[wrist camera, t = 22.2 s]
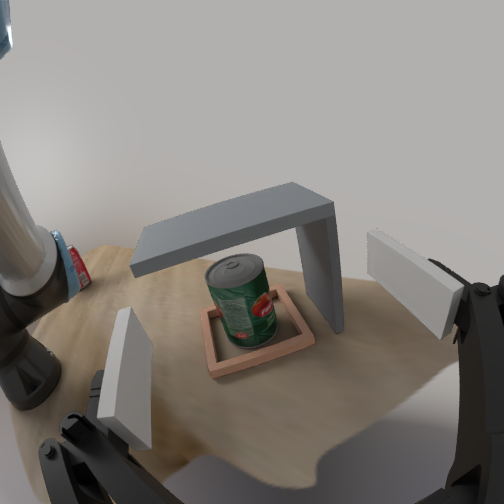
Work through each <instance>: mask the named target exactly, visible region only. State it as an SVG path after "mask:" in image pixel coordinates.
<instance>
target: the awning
mask: <svg viewBox="0 0 504 504" xmlns="http://www.w3.org/2000/svg"><path fill="white" fill-rule="evenodd" d="M294 227H295V228H296V233H297V239H298V244H299V251H300V257H301V263H302V268H303V275H304V281H305V288H306V294H307V295H308V296H309V298H310V299H311V300H312V302H313V303H314V304H315V306H316V307H317V308H318V310H319V311H320V312H321V314H322V315H323V316H324V318H325V319H326V320H327V322H328V323H329V325H330V326H331V327H332V329H333V330H334V331H335V333H336V334H337V333H340V332H342V331H344V316H343V295H342V280H341V267H340V255H339V244H338V235H337V225H336V218H335V209H334V202H333V201H331V200H329V199H327V198H325V197H323V196H321V195H319V194H317V193H315V192H313V191H311V190H309V189H307V188H304V187H302V186H300V185H298V184H296V183H294V182H290V183H287V184H283V185H279V186H276V187H272V188H268V189H264V190H261V191H257V192H254V193H250V194H247V195H244V196H240V197H236V198H233V199H230V200H227V201H223V202H220V203H216V204H213V205H210V206H207V207H204V208H200V209H197V210H194V211H191V212H188V213H185V214H182V215H179V216H176V217H173V218H170V219H167V220H164V221H161V222H158V223H155V224H152V225H149V226H146V227H144V228H143V231H142V234H141V236H140V238H139V241H138V244H137V246H136V249H135V251H134V254H133V257H132V259H131V262H130V265H129V266H130V268H131V270H132V272H133V274H134V277H135V278H137V277H140V276H143V275H146V274H149V273H152V272H155V271H159V270H162V269H165V268H168V267H171V266H174V265H177V264H180V263H183V262H186V261H189V260H193V259H196V258H199V257H202V256H205V255H208V254H211V253H214V252H218V251H221V250H224V249H227V248H230V247H233V246H236V245H240V244H243V243H246V242H249V241H252V240H255V239H259V238H262V237H265V236H268V235H271V234H275V233H278V232H281V231H284V230H287V229H291V228H294Z"/></svg>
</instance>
